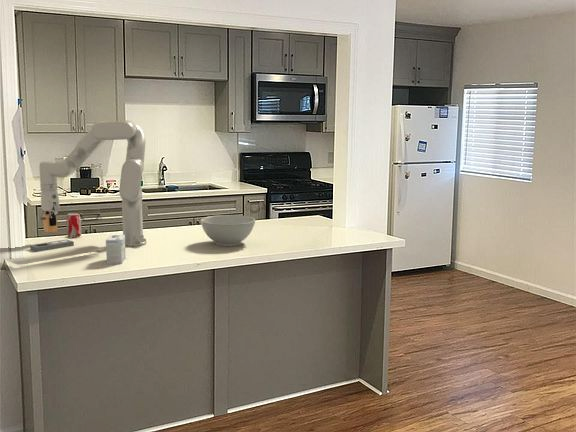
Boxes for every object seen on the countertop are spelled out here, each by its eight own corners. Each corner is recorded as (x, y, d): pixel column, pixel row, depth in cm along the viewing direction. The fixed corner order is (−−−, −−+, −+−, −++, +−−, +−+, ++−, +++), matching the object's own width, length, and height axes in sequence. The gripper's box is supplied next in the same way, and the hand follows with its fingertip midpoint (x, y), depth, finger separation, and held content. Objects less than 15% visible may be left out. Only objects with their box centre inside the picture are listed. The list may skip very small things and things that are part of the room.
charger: (57, 230, 314) (56, 214, 313) (43, 232, 309) (42, 216, 308) (53, 229, 317) (52, 213, 316) (39, 231, 312) (38, 215, 311)
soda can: (77, 238, 332) (75, 215, 330) (64, 237, 334) (63, 214, 332) (84, 235, 339) (82, 213, 337) (71, 235, 340) (70, 212, 338)
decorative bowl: (219, 236, 339) (219, 213, 337) (264, 241, 328) (264, 217, 325) (190, 246, 315) (189, 221, 313) (237, 251, 304) (237, 226, 302)
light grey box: (110, 258, 291) (109, 234, 289) (126, 258, 291) (125, 234, 289) (106, 264, 280) (105, 239, 278) (122, 264, 281) (121, 239, 279)
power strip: (74, 248, 309) (73, 241, 308) (37, 255, 296) (37, 247, 296) (66, 246, 314) (66, 239, 313) (30, 252, 301) (30, 244, 300)
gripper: (64, 188, 307) (66, 226, 311) (48, 185, 319) (49, 221, 322) (49, 189, 302) (51, 228, 305) (33, 186, 313) (35, 223, 317)
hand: (50, 224), depth 313 cm, fingers closed on charger, 4 cm apart
